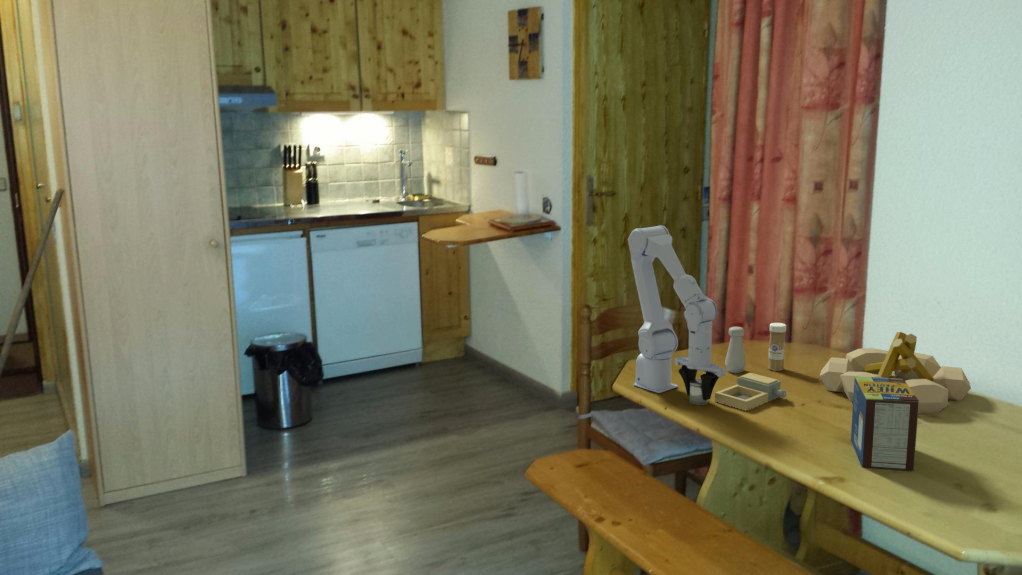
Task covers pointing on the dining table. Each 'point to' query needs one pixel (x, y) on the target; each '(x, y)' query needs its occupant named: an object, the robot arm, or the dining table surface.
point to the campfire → (899, 373)
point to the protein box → (884, 423)
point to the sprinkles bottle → (777, 346)
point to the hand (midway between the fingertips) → (698, 396)
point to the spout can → (696, 392)
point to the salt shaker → (735, 351)
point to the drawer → (750, 392)
